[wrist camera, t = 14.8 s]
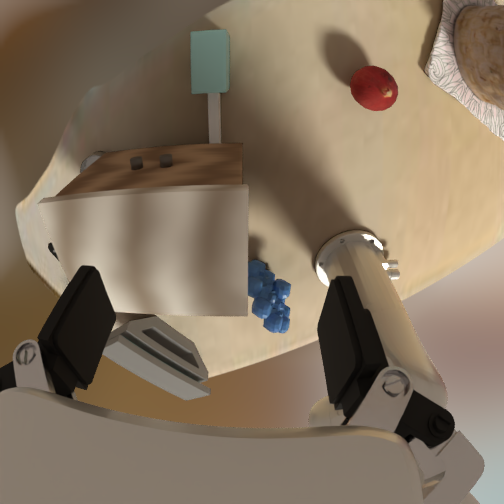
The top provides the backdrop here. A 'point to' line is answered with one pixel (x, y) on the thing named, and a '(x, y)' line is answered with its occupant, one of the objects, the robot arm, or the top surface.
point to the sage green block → (211, 73)
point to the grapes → (268, 297)
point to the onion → (374, 88)
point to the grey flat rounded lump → (91, 160)
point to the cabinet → (159, 228)
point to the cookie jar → (472, 58)
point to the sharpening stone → (159, 356)
